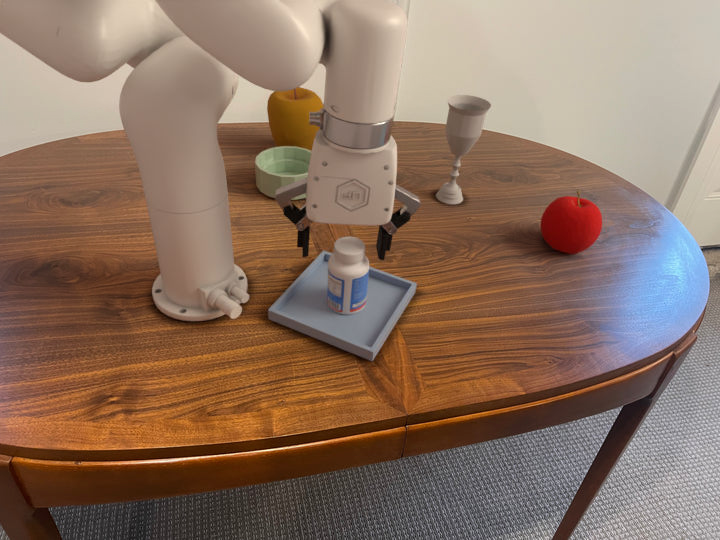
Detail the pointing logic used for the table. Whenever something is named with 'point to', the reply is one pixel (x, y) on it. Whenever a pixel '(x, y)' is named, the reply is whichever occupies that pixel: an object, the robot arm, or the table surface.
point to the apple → (293, 117)
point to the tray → (349, 332)
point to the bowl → (281, 168)
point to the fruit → (571, 224)
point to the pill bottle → (347, 276)
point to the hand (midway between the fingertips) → (342, 252)
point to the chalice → (461, 137)
